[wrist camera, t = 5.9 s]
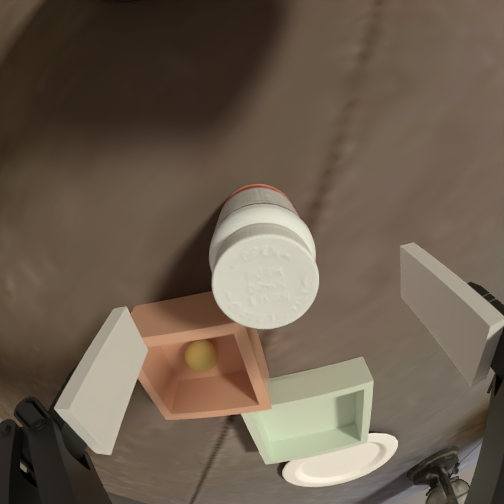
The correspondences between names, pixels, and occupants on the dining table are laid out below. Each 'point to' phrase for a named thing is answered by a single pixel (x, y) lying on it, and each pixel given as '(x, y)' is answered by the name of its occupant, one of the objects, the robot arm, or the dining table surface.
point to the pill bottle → (262, 259)
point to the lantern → (441, 477)
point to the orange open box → (188, 380)
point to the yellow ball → (201, 355)
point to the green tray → (314, 412)
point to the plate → (341, 463)
